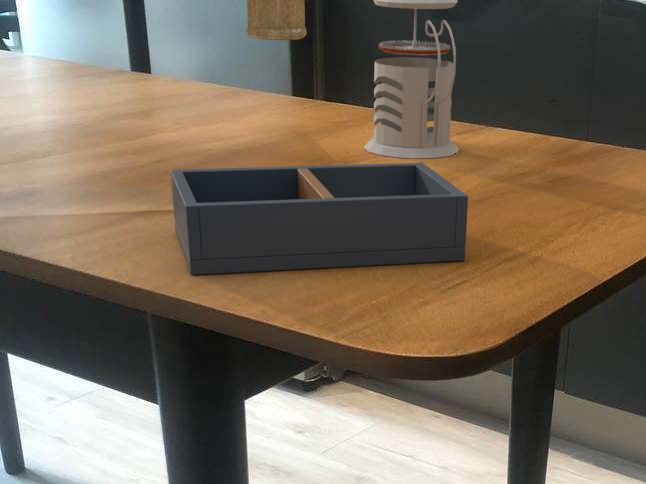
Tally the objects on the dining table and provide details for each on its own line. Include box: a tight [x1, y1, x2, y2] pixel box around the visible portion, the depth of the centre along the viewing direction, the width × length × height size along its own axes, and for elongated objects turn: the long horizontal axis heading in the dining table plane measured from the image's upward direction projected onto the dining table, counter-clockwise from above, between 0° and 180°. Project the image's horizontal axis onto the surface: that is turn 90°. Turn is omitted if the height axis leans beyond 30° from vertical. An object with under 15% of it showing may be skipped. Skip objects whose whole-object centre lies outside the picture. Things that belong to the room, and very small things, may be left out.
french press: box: [363, 0, 460, 159], centre depth 104 cm, size 10×12×25 cm
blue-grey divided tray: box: [170, 162, 469, 276], centre depth 77 cm, size 19×11×4 cm, turn 106°
